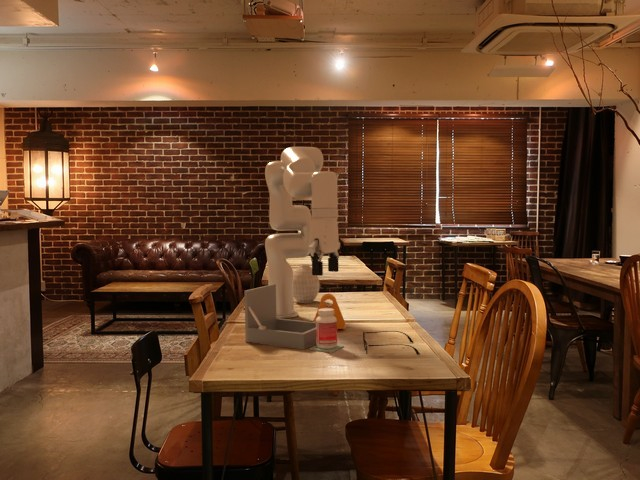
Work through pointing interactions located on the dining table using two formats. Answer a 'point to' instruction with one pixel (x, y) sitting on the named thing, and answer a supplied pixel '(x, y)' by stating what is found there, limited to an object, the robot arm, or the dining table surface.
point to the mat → (327, 349)
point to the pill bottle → (326, 329)
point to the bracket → (334, 306)
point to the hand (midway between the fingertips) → (325, 273)
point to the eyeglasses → (388, 344)
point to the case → (274, 322)
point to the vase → (305, 284)
